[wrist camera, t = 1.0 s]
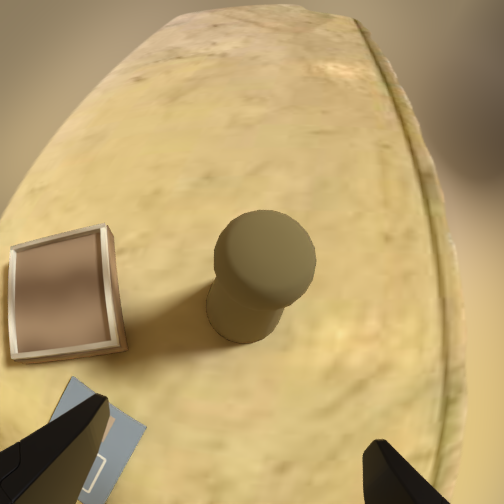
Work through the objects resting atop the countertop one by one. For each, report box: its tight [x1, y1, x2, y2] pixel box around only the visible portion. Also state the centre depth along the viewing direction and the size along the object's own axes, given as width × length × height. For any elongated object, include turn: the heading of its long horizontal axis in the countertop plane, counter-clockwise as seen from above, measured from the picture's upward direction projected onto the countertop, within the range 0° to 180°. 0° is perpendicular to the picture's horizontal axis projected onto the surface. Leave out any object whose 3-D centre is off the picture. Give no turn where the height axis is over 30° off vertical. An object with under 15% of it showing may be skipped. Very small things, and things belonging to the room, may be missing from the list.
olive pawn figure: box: [206, 210, 316, 343], centre depth 19 cm, size 6×6×11 cm
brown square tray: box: [8, 223, 128, 364], centre depth 20 cm, size 10×10×3 cm
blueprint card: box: [49, 376, 147, 504], centre depth 16 cm, size 10×7×1 cm
